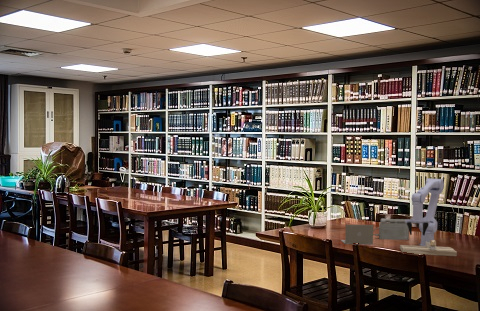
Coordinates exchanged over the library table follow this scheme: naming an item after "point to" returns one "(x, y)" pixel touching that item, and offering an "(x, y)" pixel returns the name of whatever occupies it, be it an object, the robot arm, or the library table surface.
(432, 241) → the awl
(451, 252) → the board
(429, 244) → the finder
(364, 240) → the laptop
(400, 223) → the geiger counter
